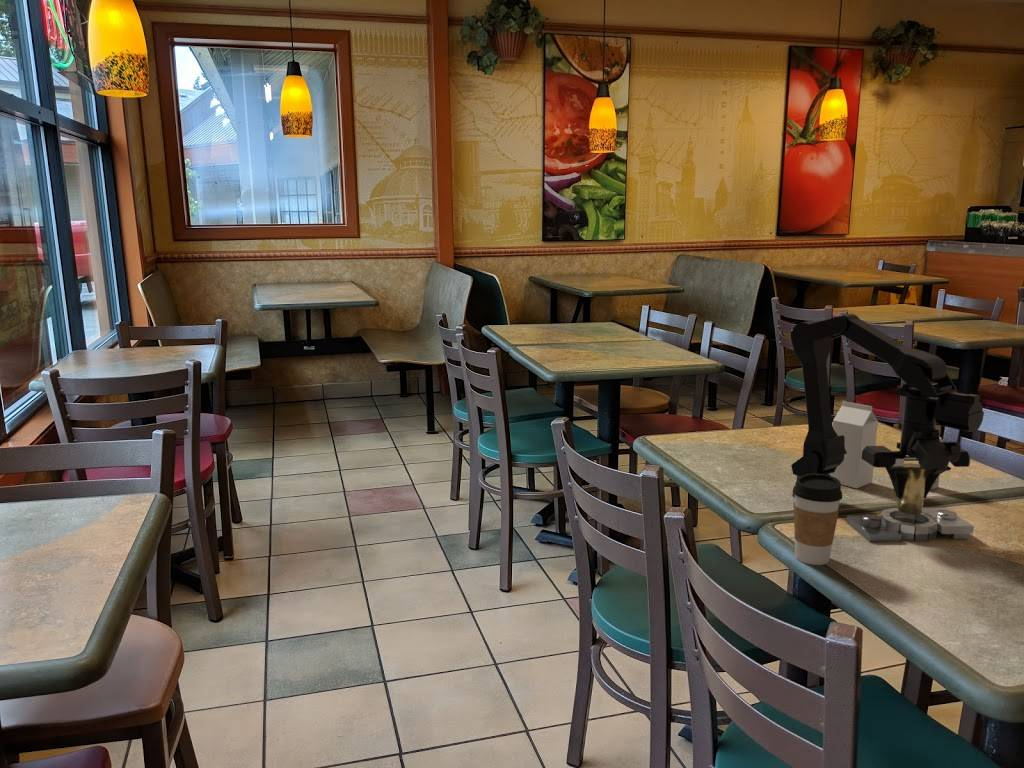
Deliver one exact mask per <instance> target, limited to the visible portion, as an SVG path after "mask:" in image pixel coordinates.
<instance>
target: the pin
mask: <svg viewBox="0 0 1024 768" xmlns="http://www.w3.org/2000/svg"><path fill="white" fill-rule="evenodd" d="M903 467H905V468H907V469H908V470H907V471H906V473H905V474H904V481H903V493H902V498H901V499H899V498H897V507H896V508H897V509H898V510H899V511H901V512H903V513H907V514H921V513H922V510H923V508H924V500H925V499H924V492H925V483H926V474H927V469H924V468H923V467H922V466H921V465H920V464H917V463H914V462H912V463H911V462H909V463H908V462H907V463H904V464H903Z"/></svg>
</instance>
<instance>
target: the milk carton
mask: <svg viewBox="0 0 1024 768" xmlns="http://www.w3.org/2000/svg"><path fill="white" fill-rule="evenodd" d="M878 423H879V421H878V419H877V416H876V415H875V413H874V412H873V406H872V405H868V404H867V405H865V404H862V403H856V402H850V401H845V400H842V401H841V406H840V409H839V410H838V411H837V413H836V415H835V416H834V418H833V419H832V425H833V429H834V430H835V432H836V434H837V435H838V436H841V435H844V438H845V443H844V445H845V450H846V452H847V454H844V460H843V462H842V463H841V464H840V465H839V466H837V468H836V470H835V472H834V473H830V474H829V475H831V476H832V477H835V478H837V479H838V480H839V481H840V483H841V486H844V487H845V486H846V487H850V488H853V489H859V488H861V487H865V486H866V485H869V484H871V483H873V477H874V469H875V467H873V466H872V465H870V464H869V463H867V462H866V461H864V460H863V459H862V451H863V450H864V448H865V447H866V446H877V437H878V436H877V435H878V426H879V425H878Z"/></svg>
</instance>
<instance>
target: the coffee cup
mask: <svg viewBox="0 0 1024 768" xmlns="http://www.w3.org/2000/svg"><path fill="white" fill-rule="evenodd" d="M796 479H797V480H796ZM796 479H795V480H796V482H795V484H794V486H793V489H792V493H794V494H795V498H794V502H793V524H794V526H793V527H794V528H793V530H794V556H795V558H796V560H797V561H799V562H801V563H804V564H807V565H813V566H822V565H823V566H824V565H827V564H828V563H830V558H831V552H832V546H833V543H834V537H835V532H836V529H837V523H838V519H839V518H838V517H839V512H840V507H839V506H840V500H842V499H843V492H842V487H841V486H842V485H841V483H840V481H839V480H838V479H837V478H835V477H832V476H829V475H825V474H806V475H803V476H800V477H799V478H797V477H796Z"/></svg>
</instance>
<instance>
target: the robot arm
mask: <svg viewBox="0 0 1024 768" xmlns="http://www.w3.org/2000/svg"><path fill="white" fill-rule="evenodd" d="M789 334H790V335H789V336H790V341H791V342H790V343H791V346H792V349H793V352H794V354H795V356H796V357H797V359H798V360H799V362H800V363H801V367H802V378H803V387H804V397H805V406H806V416H807V418H806V419H807V428H808V431H807V433H806V436H805V438H804V441H803V445H802V447H803V448H802V456H801V457H800V458H798V459H797V460H796V461H794V462H793V463H791V470H792V474H793V475H795V476H796V479H795V480H797V478H799V477H800V476H803V475H806V474H825V475H829V474H830V473H834V472H835V470H836V468H837V466H839V465H840V464H841V463H842V462H843V460H844V454H847V452H846V450H845V445H844V443H845V438H844V435H841V436H838V435H837V434H836V432H835V430H834V429H833V418H832V407H831V398H830V386H829V378H828V377H829V376H828V369H827V368H828V367H827V360H828V357H829V355H830V352H831V349H832V343H833V341H832V340H833V339H836V338H839V337H842V336H843V337H845V338H846V339H848V340H849V341H851V342H852V343H854V344H856V345H857V346H858V347H861V348H862V349H864V350H866V351H867V352H869V353H871V354H872V355H873V356H875V357H877V358H878V359H880V360H882V361H883V362H885V363H886V364H888V366H889V367H891V369H892V371H893V372H894V374H895V376H897V377H898V378H899V379H900V380H901V381H902V382H904V384H902V386H901V387H899V388H898V389H896V390H895V391H893V394H894V396H899V397H904V404H903V414H902V415H903V416H902V422H898V428H899V429H901V436H900V441H899V442H896V449H898V450H891V449H889V448H887V447H885V446H884V445H876V446H866V447H865V448H864V450H863V451H862V459H863V460H864V461H866V462H867V463H869V464H870V465H872V466H873V467H874V468H885V469H886V472H887V474H888V476H889V479H890V481H891V485H892V487H893V490H894V492H895V496H896V498H897V499H898V498H899V499H901V498H902V493H903V481H904V474H905V473H906V471H907V470H908V469H907V468H905V467H903V464H905V463H904V462H913V461H915V462H917V461H919V463H920V465H921V466H922V467H923V468H924V469H927V474H926V483H925V492H924V500H925V499H926V498H927V497H928V494H929V493H930V491H931V490H930V489H931V487H932V485H933V484H934V482H935V480H936V479H937V478H938V476H939V475H941V474H943V473H945V472H947V471H951V469H952V467H955V468H956V467H958V468H959V467H961V468H964V467H965V468H966V467H968V468H969V467H970V466H971V465H970V464H971V455H970V453H969V452H968V451H967V450H964V449H963V448H962V447H961V446H962V445H960V443H959V442H957V441H948V442H946V441H943V442H940V438H939V437H940V429H938V428H936V427H937V426H936V425H937V423H938V424H939V425H940V426H941V427H945V428H950V429H954V430H960V431H964V432H967V433H968V432H969V433H976V432H977V431H978V430H979V429H980V427H981V425H982V422H983V420H984V415H985V414H984V413H985V412H984V411H983V410H984V409H983V404H982V403H981V402H980V400H981V399H980V398H981V396H980V395H979V394H973V393H969V394H968V393H961V392H958V389H957V387H956V386H955V383H954V382H953V380H952V378H951V377H950V375H949V373H948V372H947V370H948V369H947V366H946V362H945V360H943V359H942V358H941V357H939V356H938V355H935V354H931V353H929V352H928V351H924V350H921V349H915V348H912V347H910V346H906V345H904V344H903V343H902V342H899V341H897V340H896V339H894V338H893V337H891V336H889V335H887V334H886V333H884V332H883V331H881V330H879V329H877V328H876V327H874V326H873V325H870V324H869V323H867V322H866V321H864V320H862V319H861V318H860V317H859V316H858V315H856V314H854V313H846V314H839V315H837V316H835V317H832V318H827V319H825V320H811V321H803V322H798V323H796V324H795V325H794V327H793V328H792V329H791V330H790V333H789ZM935 385H936V386H935ZM949 464H951V465H952V467H950V466H949ZM829 476H831V475H829ZM939 477H940V476H939ZM791 496H792V497H793V498H794V499H795V494H794V493H793V492H792V494H791Z"/></svg>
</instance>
